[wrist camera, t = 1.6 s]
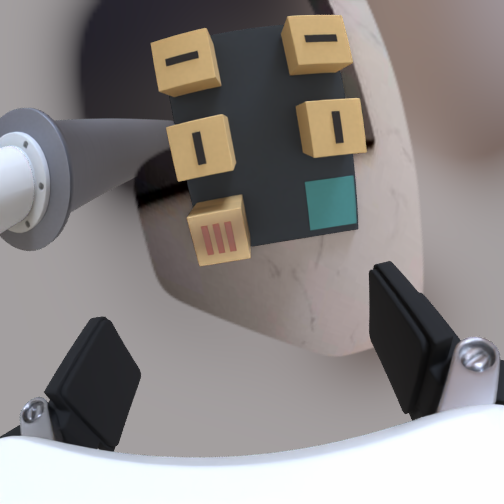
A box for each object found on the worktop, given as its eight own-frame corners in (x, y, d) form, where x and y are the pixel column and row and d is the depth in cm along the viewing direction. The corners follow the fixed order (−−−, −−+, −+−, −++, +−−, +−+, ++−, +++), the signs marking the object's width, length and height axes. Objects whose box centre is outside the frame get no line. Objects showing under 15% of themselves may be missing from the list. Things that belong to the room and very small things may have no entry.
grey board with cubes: (357, 227, 27) (376, 248, 23) (205, 252, 28) (197, 278, 24) (328, 24, 19) (344, 5, 15) (161, 49, 20) (143, 34, 16)
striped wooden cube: (250, 237, 27) (250, 259, 23) (206, 245, 27) (199, 267, 23) (242, 194, 26) (240, 208, 21) (196, 202, 26) (186, 218, 22)
